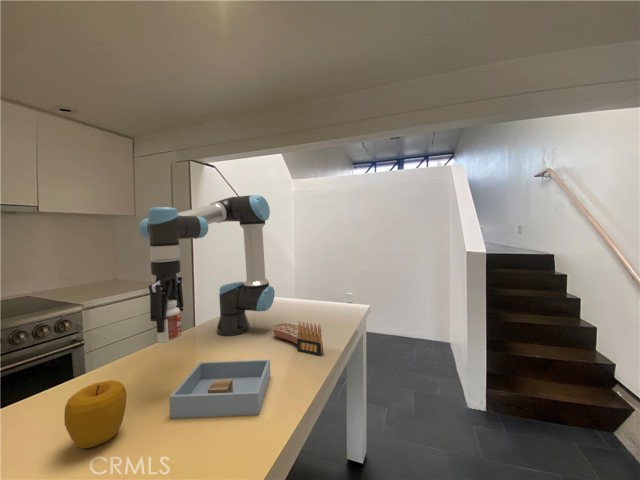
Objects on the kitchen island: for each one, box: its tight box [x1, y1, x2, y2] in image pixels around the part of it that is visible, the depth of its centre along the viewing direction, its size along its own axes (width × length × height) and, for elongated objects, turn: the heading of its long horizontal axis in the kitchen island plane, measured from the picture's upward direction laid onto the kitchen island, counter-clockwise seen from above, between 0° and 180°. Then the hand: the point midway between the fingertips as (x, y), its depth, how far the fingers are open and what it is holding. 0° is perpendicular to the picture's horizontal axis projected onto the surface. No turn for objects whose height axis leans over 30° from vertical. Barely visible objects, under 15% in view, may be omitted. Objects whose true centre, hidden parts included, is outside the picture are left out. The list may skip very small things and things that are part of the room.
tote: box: [168, 359, 271, 419], centre depth 78 cm, size 19×23×6 cm
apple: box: [63, 379, 128, 449], centre depth 62 cm, size 11×11×13 cm
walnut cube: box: [208, 379, 233, 394], centre depth 74 cm, size 5×5×5 cm
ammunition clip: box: [296, 320, 324, 357], centre depth 105 cm, size 11×2×12 cm, turn 62°
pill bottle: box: [166, 300, 182, 343], centre depth 80 cm, size 6×6×11 cm
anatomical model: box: [272, 322, 314, 345], centre depth 117 cm, size 23×10×5 cm, turn 47°
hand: (169, 337), depth 80 cm, fingers closed on pill bottle, 6 cm apart
